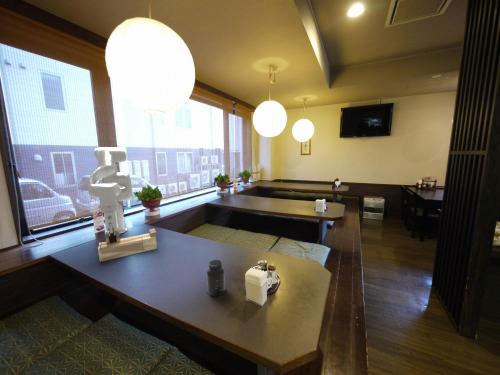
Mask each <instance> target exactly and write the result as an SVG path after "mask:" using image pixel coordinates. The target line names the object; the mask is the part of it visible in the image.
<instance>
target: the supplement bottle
mask: <svg viewBox="0 0 500 375" xmlns="http://www.w3.org/2000/svg"><path fill="white" fill-rule="evenodd" d="M206 284H207V285H206V286H207V293H208V295H209V296H211V297H219V296H222V295H223V294H224V293H225V291H226V275H225V269H224V267H223V264H222V260H220V259H212V260H211V261H209V263H208V269H207V271H206Z"/></svg>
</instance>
